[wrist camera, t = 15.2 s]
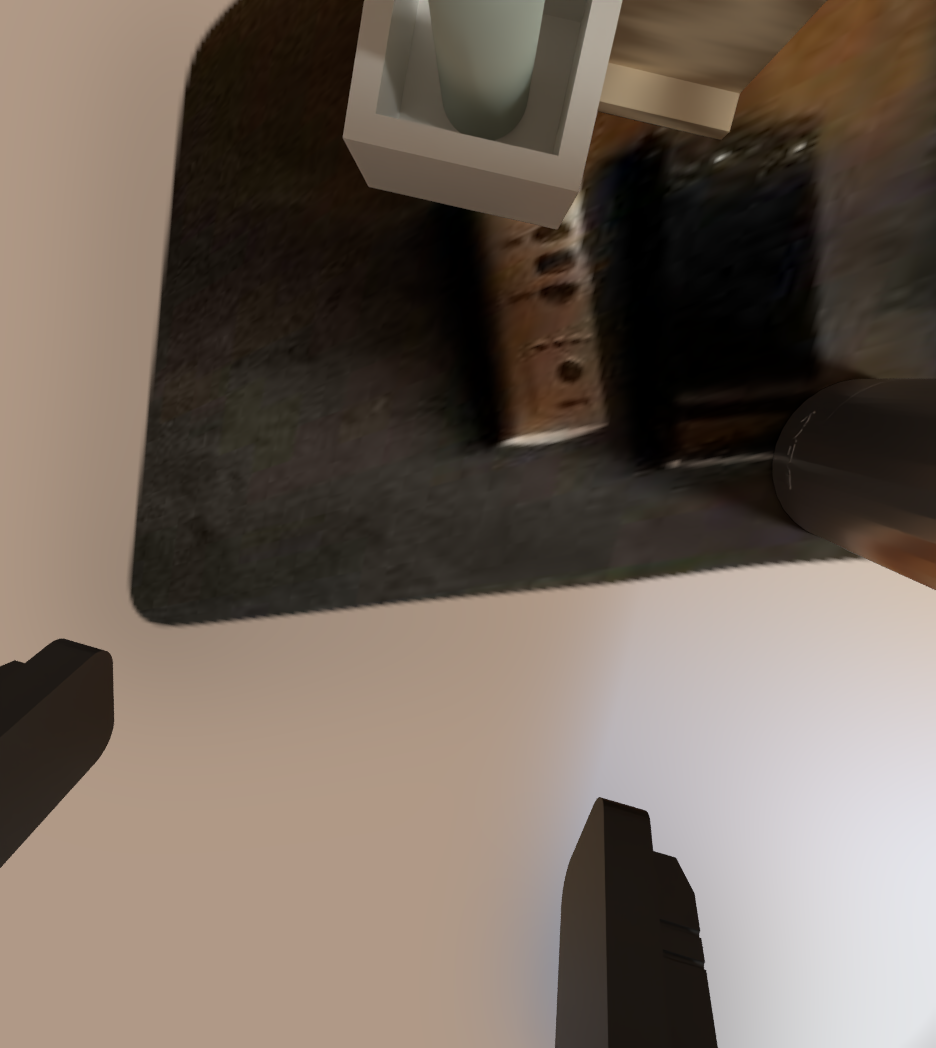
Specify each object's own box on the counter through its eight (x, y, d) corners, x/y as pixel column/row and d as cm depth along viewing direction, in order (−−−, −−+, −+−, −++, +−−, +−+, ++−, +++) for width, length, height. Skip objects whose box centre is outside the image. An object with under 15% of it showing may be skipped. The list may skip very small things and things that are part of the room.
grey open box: (609, -2, 28) (646, -106, 22) (557, 229, 30) (578, 191, 24) (408, -51, 28) (390, -169, 22) (368, 186, 30) (342, 137, 24)
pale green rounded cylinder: (536, 54, 28) (566, -120, 18) (519, 148, 29) (539, 31, 19) (450, 37, 28) (433, -147, 18) (434, 132, 28) (411, 5, 19)
